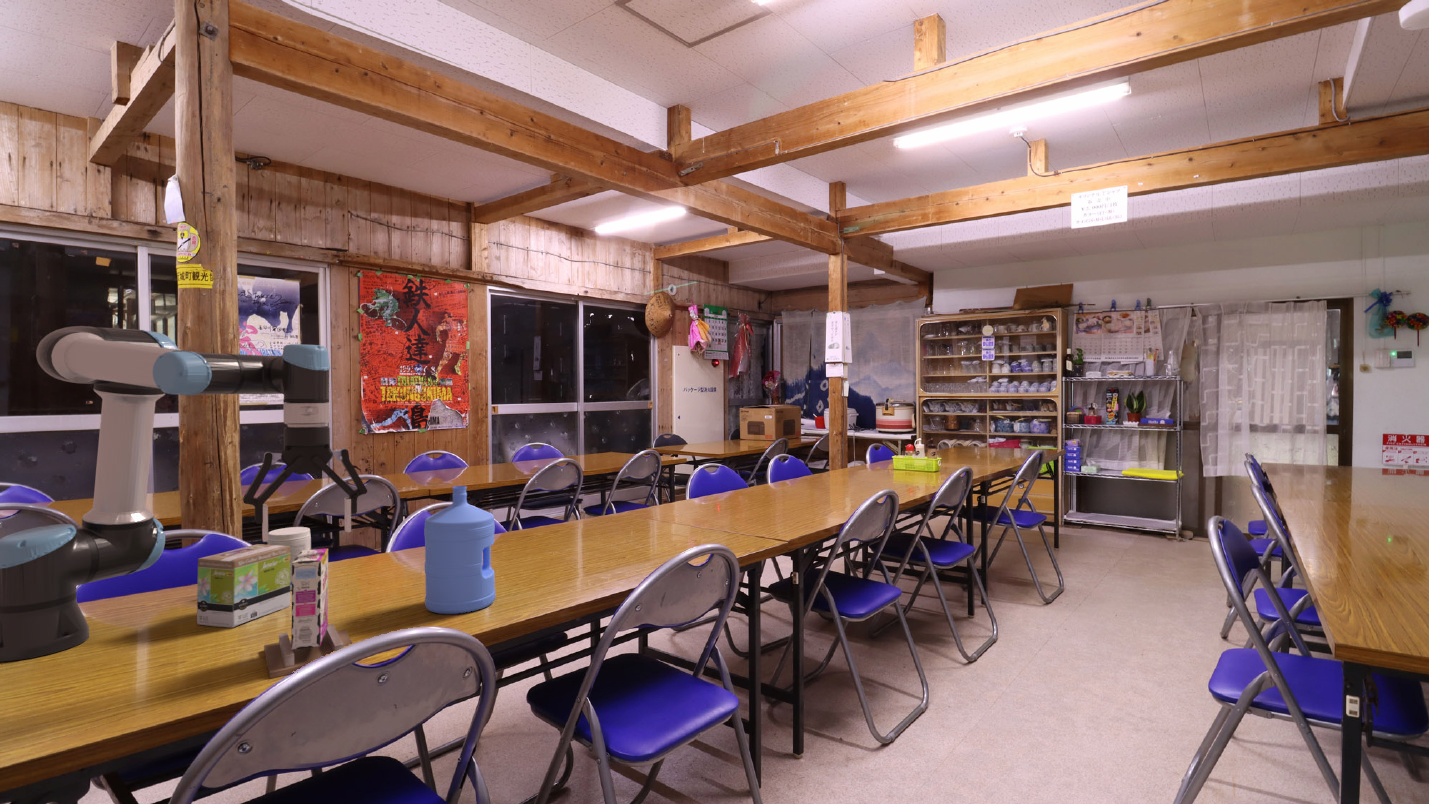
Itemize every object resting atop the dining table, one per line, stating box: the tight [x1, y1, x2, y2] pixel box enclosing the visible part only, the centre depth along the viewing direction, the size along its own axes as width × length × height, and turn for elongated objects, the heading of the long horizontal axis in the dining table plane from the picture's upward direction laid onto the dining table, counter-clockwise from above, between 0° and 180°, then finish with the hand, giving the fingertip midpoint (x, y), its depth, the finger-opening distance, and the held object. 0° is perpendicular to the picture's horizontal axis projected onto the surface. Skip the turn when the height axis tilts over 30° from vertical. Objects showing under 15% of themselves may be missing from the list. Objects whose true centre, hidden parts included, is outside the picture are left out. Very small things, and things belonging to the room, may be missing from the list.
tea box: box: [196, 543, 291, 628], centre depth 150 cm, size 15×10×15 cm
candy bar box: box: [290, 548, 329, 650], centre depth 127 cm, size 11×5×16 cm, turn 24°
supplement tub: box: [266, 526, 312, 591], centre depth 172 cm, size 10×10×15 cm
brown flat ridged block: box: [263, 623, 353, 679], centre depth 128 cm, size 14×16×3 cm
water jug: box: [423, 485, 496, 615], centre depth 157 cm, size 16×16×28 cm
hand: (307, 535), depth 127 cm, fingers open, 13 cm apart
